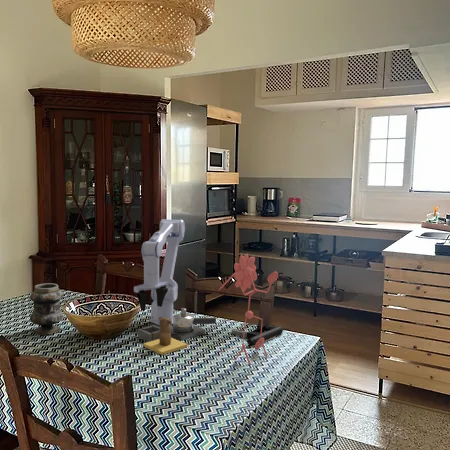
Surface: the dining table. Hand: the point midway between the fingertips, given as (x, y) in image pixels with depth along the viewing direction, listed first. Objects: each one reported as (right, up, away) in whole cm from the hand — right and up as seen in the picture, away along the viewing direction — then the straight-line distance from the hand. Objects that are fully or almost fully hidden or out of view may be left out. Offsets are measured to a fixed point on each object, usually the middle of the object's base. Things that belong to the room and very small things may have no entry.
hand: (151, 308), depth 172 cm
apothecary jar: (-41, -10, +3) cm, 42 cm away
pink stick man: (+34, -13, -18) cm, 41 cm away
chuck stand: (+12, -10, +3) cm, 16 cm away
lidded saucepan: (+16, -9, +4) cm, 19 cm away
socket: (+1, -11, -2) cm, 11 cm away
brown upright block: (+7, -11, -11) cm, 17 cm away
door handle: (+39, -12, +1) cm, 41 cm away
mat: (+7, -12, -11) cm, 18 cm away
